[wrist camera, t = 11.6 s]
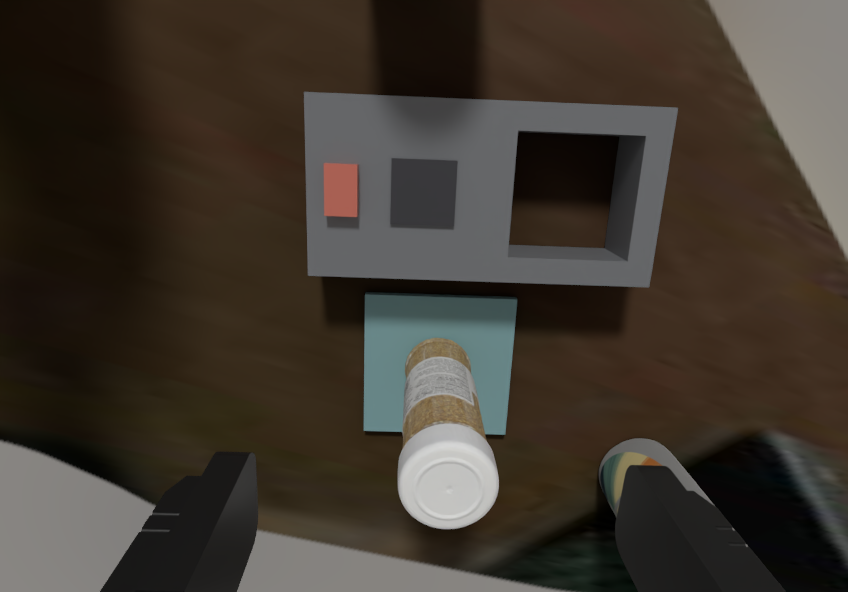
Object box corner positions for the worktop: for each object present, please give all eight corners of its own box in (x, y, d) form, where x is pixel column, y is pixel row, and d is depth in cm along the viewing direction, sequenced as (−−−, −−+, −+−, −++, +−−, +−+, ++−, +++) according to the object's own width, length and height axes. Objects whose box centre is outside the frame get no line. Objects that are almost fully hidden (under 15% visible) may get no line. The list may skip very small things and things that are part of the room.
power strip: (319, 261, 35) (305, 278, 30) (317, 97, 32) (301, 90, 28) (623, 271, 35) (654, 290, 31) (647, 111, 33) (684, 107, 28)
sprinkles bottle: (459, 403, 37) (481, 544, 24) (396, 387, 37) (385, 521, 24) (479, 344, 36) (514, 459, 23) (414, 326, 36) (413, 433, 23)
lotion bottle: (581, 466, 39) (738, 775, 20) (645, 421, 38) (874, 701, 19) (624, 515, 41) (811, 850, 22) (688, 473, 40) (942, 784, 21)
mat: (364, 426, 38) (363, 430, 38) (365, 292, 36) (364, 294, 35) (503, 430, 39) (505, 434, 38) (515, 297, 36) (517, 299, 35)
